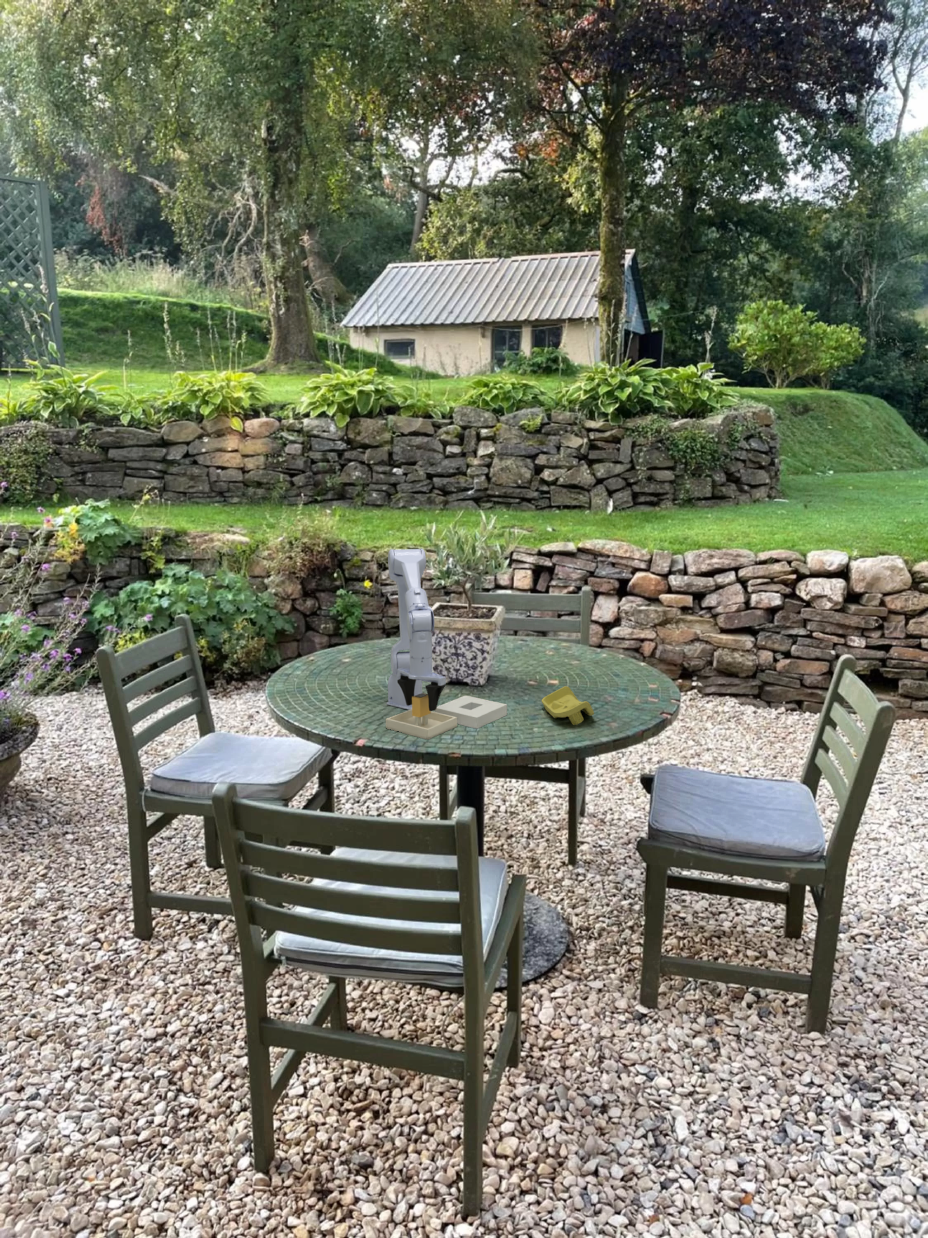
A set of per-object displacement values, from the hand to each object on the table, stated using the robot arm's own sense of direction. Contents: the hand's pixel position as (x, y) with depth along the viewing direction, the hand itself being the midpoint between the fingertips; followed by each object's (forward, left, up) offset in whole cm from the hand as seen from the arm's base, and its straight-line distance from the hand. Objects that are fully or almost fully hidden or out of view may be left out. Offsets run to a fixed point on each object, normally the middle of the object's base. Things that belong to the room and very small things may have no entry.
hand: (421, 707), depth 213 cm
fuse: (0, 0, -5) cm, 5 cm away
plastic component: (+26, +31, -6) cm, 41 cm away
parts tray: (0, 0, -6) cm, 6 cm away
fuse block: (+5, +15, -6) cm, 17 cm away
